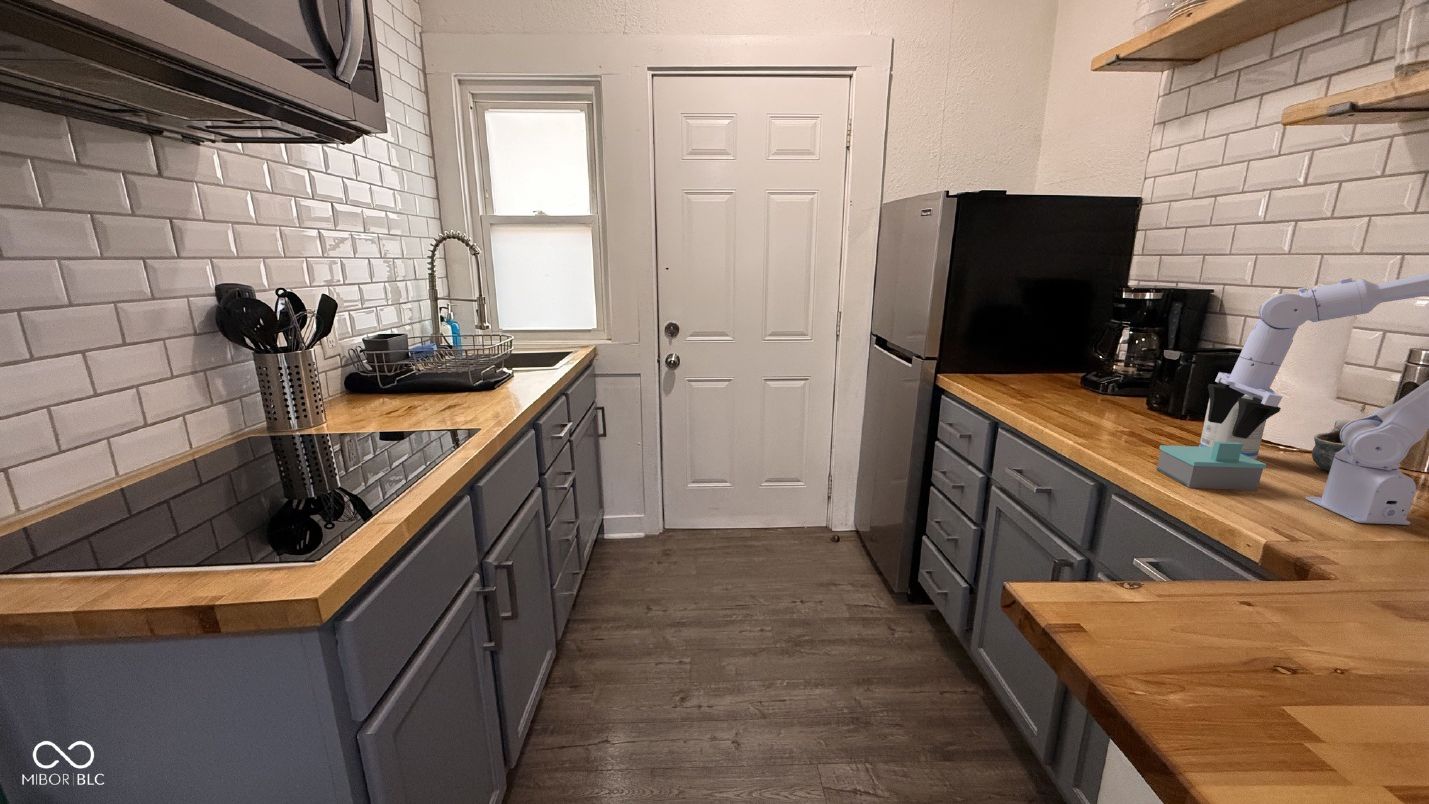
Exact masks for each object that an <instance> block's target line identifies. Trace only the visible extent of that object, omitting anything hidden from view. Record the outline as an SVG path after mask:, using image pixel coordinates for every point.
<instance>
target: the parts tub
mask: <svg viewBox="0 0 1429 804" xmlns="http://www.w3.org/2000/svg"><path fill="white" fill-rule="evenodd" d="M1158 457H1159V458H1158V462H1157V465H1156V466H1157V467H1156V471H1157V472H1159V473H1161V474H1162V475H1165V476H1166V477H1168V478H1170V479H1172V480H1173V481H1176V482H1178V483H1180V484H1181V485H1183V486H1184V487H1187V488H1189V489H1208V490H1209V489H1211V490H1235V491H1236V490H1237V491H1238V490H1239V491H1240V490H1241V491H1258V488H1259V485H1260V481H1261V478H1262V474H1263V470H1264V468H1239V467H1210V466H1193V465H1191V464H1189V463H1187V462H1185V461H1183V460H1181V459H1179V458H1176V457H1174V456H1172V455H1170V454H1168V453H1166V452H1164V451H1162V450H1160V452H1159V456H1158Z"/></svg>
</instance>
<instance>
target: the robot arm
mask: <svg viewBox="0 0 1429 804" xmlns="http://www.w3.org/2000/svg"><path fill="white" fill-rule="evenodd" d="M1427 296H1429V272H1427V273H1423V274H1418V275H1414V276H1409V277H1404V278H1399V279H1394V280H1390V281H1385V282H1380V283H1373V282H1371V281H1368V280H1367V279H1363V278H1358V279H1354V280H1353V279H1352V277H1345V278H1340V279H1338V283H1333V284H1328V285H1323V286H1319V287H1317V286H1316V287H1313V288H1308V289H1307V287H1306V286H1305V287H1299V288H1298V289H1297V293H1279V294H1275V295H1273V296H1271V297H1269V298H1268V299H1266V300H1265V301H1264V302H1262V304H1261V305H1259V308H1258V315H1259V318H1258V319H1257V320H1256V322H1255V323H1254V325H1253V330H1252V331H1250V333H1249V335H1248V337H1247V339H1246V340H1245V343H1244V345H1243V347H1242V349H1241V352H1240V354H1239V356H1238V358H1237V359H1236V362H1235V365H1234V367H1233V369H1232V371H1231V373H1227V372H1221V371H1219V372H1218V374H1217V376H1216V378H1215V381H1214V382H1216V384H1213V383H1208V385H1207V390H1208V394H1209V398H1210V407H1209V415H1208V421H1209V422H1213V423H1219V424H1222V423H1223V422H1224V420H1225V419H1226V417H1227V416H1228V414H1229V412H1230V411H1231V409H1232V408H1233V406H1234V405H1235V404H1236V403H1237V402H1238V404H1239V409H1238V416H1237V420H1236V422H1235V425H1234V428H1233V431H1232V435H1233V436H1234V437H1239V438H1245V439H1247V438H1248V437H1249V436H1250V435H1251V434H1252V433H1253V431H1254V430H1255V429H1256V428H1257V427H1258V426H1259V425H1260V424H1262V423H1263V422H1264V421H1265V420H1266V421H1267V420H1268V419H1269V418H1271V417H1273V416H1274V415H1276V414H1278V413H1280V412H1281V409H1282V408H1281V407H1280V406H1279V404H1280V403H1281V400H1282V399H1283V396H1282V395H1281V394H1278V393H1276V392H1275V390H1273V389H1272V388H1271V387H1272V384H1273V382H1274V380H1275V379H1276V376H1277V375H1278V372H1279V371H1280V368H1281V366H1282V364H1283V363H1284V360H1285V359H1286V356H1287V354H1288V352H1289V350H1290V348H1291V347H1292V344H1293V342H1294V339H1293V338H1294V337H1295V335H1296V333H1297V331H1298V329H1299V327H1300V326H1301V325H1304V324H1305V323H1306V322H1307V321H1309V322H1312V323H1318V322H1323V321H1329V320H1330V321H1331V320H1335V319H1341V318H1346V317H1347V318H1349V317H1353V316H1359V315H1365V314H1369V313H1370V312H1372V311H1373V310H1374V309H1375V308H1376V307H1377V306H1378V305H1380V304H1382V303H1383V304H1384V303H1387V302H1388V303H1389V302H1393V301H1400V300H1408V299H1415V298H1421V297H1427ZM1244 395H1248V396H1250V397H1252V398H1253V399H1252V400H1251V399H1245V398H1242V397H1243V396H1244ZM1350 421H1351V422H1349V423H1347V424H1346V425H1345V426H1344V427H1343V428H1342V429H1341V432H1340V439H1341V441H1342V443H1343V444H1344V445H1345V447H1344V448H1343V449H1342V450H1340V451H1338V452H1336V453H1335V456H1334V459H1333V463H1332V466H1331V469H1330V472H1329V471H1328V476H1327V480H1326V483H1325V486H1324V490H1323V492H1322V495H1321V496H1305V500H1307V501H1309V502H1312V503H1313V504H1316V505H1318V506H1320V507H1322V508H1323V509H1324V508H1325V509H1327V510H1329V511H1331V512H1333V513H1336V514H1338V515H1340V516H1342V517H1345V518H1347V519H1349V520H1350V521H1351V520H1352V521H1354V522H1356V523H1360V524H1377V525H1378V524H1379V525H1380V524H1382V525H1385V524H1386V525H1404V526H1405V525H1406V526H1407V525H1409V526H1410V524H1411V521H1409V520H1407V517H1408V516H1409V512H1410V510H1411V506H1412V504H1413V502H1414V497H1415V495H1416V493H1417V484H1416V482H1415V480H1414V479H1413V478H1411V477H1410V476H1408V475H1406V474H1404V473H1403V472H1402V471H1401V469H1400V467H1401V464H1400V462H1402V461H1403V460H1404V459H1405V458H1406V457H1407V455H1408V453H1409V451H1410V449H1411V448H1412V447H1413V446H1414V445H1415V444H1416V443H1418V442H1420V441H1421V440H1422V439H1423V438H1424V437H1425V435H1426V433H1427V431H1428V430H1429V379H1428V380H1427V381H1425V382H1424V383H1422V384H1420V386H1418V387H1417V388H1415V389H1413V390H1412V391H1411V392H1409V393H1408V394H1406V395H1405V396H1403V397H1402V398H1400V399H1399V400H1398V401H1396V402H1395V403H1393V404H1391V405H1387V406H1385V407H1382V408H1380V409H1378V410H1375V412H1373V413H1371V414H1369V415H1367V416H1365V417H1360V418H1356V419H1352V420H1350Z"/></svg>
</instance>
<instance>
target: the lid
mask: <svg viewBox="0 0 1429 804" xmlns="http://www.w3.org/2000/svg"><path fill="white" fill-rule="evenodd" d="M1242 446H1243V444H1241V443H1239V442H1217V441H1215V443H1214V447H1199V445H1198V446H1193V445H1192V446H1191V445H1165V444H1164V445H1159V450H1160V451H1161V450H1162V451H1164V452H1166V453H1168V454H1170V455H1172V456H1174V457H1176V458H1179V459H1181V460H1183V461H1185V462H1187V463H1189V464H1191V465H1193V466H1210V467H1239V468H1263V469H1266V467H1267V464H1266V463H1265V462H1261V461H1260V460H1257V459H1256V460H1255V459H1253V458H1250V457H1248V456H1245V455H1243V454H1241V450H1242Z"/></svg>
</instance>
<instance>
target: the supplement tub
mask: <svg viewBox="0 0 1429 804" xmlns="http://www.w3.org/2000/svg"><path fill="white" fill-rule="evenodd" d="M1242 398H1245V399H1251V400H1252V399H1253V398H1252V397H1250V396H1248V395H1244V396H1243V397H1242ZM1209 407H1210V397H1209V399H1208V403H1207V408H1206V411H1205V417H1204V424H1203V427H1202V432H1201V436H1200V442H1199V445H1198V447H1214V443H1215V441H1217V442H1239V443H1241V444H1243V446H1242V450H1241V454H1243V455H1245V456H1248V457H1250V458H1253V459H1255V460H1257V458H1258V455H1259V452H1260V448H1261V443H1262V440H1263V436H1264V431H1265V426H1266V423H1267V420H1265V421H1264V422H1263V423H1262V424H1260V425H1259V426H1258V427H1257V428H1256V429H1255V430H1254V431H1253V433H1252V434H1251V435H1250V436H1249V437H1248V438H1247V439H1245V438H1239V437H1234V436H1233V435H1232V431H1233V428H1234V425H1235V422H1236V420H1237V416H1238V409H1239V404H1238V402H1237V403H1236V404H1235V405H1234V406H1233V408H1232V409H1231V411H1230V412H1229V414H1228V416H1227V417H1226V419H1225V420H1224V422H1223V423H1222V424H1219V423H1213V422H1209V421H1208V415H1209Z"/></svg>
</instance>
